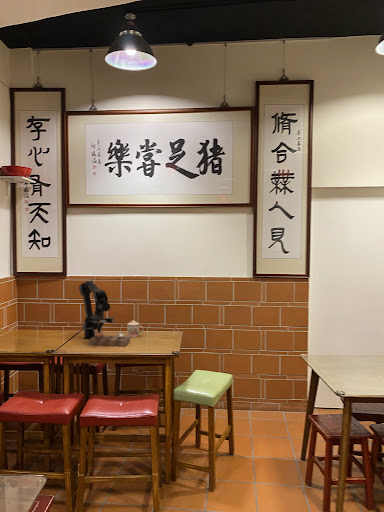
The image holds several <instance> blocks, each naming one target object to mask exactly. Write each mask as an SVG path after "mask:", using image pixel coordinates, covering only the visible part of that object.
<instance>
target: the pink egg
mask: <svg viewBox="0 0 384 512" xmlns="http://www.w3.org/2000/svg"><path fill="white" fill-rule="evenodd" d="M103 335H104V331H102V330H101V331H100V332H98V331H95V336H96V337H98V338H101V337H102V336H103Z"/></svg>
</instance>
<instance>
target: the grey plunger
mask: <svg viewBox="0 0 384 512" xmlns="http://www.w3.org/2000/svg"><path fill="white" fill-rule="evenodd" d="M116 336H117V338H118V339H124V338H125V336H126V334H125V333H121V332H120V333H117V334H116Z"/></svg>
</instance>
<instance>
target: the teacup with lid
mask: <svg viewBox="0 0 384 512" xmlns="http://www.w3.org/2000/svg"><path fill="white" fill-rule="evenodd" d="M126 325H127V327H126V329H127V330H126V332H127V333H126V334H127V335H126V336H130V338H138V337H139V336H140V334H142V333H143V332H144V326H142V325H141V324H140V322H137V321H136V320H135V319H133V320H131V321H130V322H128V323H127V324H126ZM140 328H142V329H141V331H140ZM137 336H138V337H137Z"/></svg>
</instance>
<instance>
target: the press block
mask: <svg viewBox="0 0 384 512" xmlns="http://www.w3.org/2000/svg"><path fill="white" fill-rule="evenodd" d="M129 342H131V337H130V336H127V335H125V338H124V339H118V338H117V335H105V334H103V336H102V337H101V338H98V337H96V336H94V337H92V338H90V339H89V346H103V347H121V348H123V347H125V348H126V346H127V345H129V344H130V343H129ZM128 343H129V344H128Z"/></svg>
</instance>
